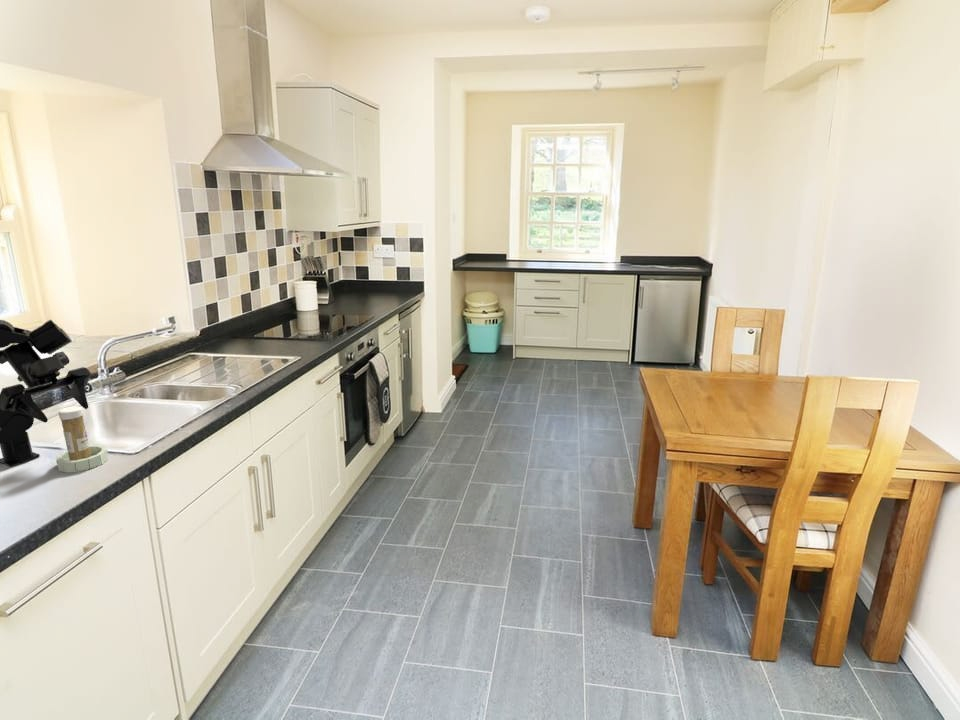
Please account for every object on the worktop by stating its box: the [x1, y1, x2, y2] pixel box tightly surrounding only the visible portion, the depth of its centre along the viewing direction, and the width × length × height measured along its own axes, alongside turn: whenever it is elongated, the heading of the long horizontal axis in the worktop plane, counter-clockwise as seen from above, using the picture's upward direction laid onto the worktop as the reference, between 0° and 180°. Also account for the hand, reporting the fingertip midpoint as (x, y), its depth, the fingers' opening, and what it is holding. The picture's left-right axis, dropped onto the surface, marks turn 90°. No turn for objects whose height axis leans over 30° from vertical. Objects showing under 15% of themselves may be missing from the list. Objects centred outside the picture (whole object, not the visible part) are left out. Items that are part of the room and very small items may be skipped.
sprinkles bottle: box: [58, 406, 91, 461], centre depth 137 cm, size 5×5×13 cm
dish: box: [55, 444, 109, 473], centre depth 139 cm, size 10×10×2 cm
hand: (67, 414), depth 136 cm, fingers open, 9 cm apart
